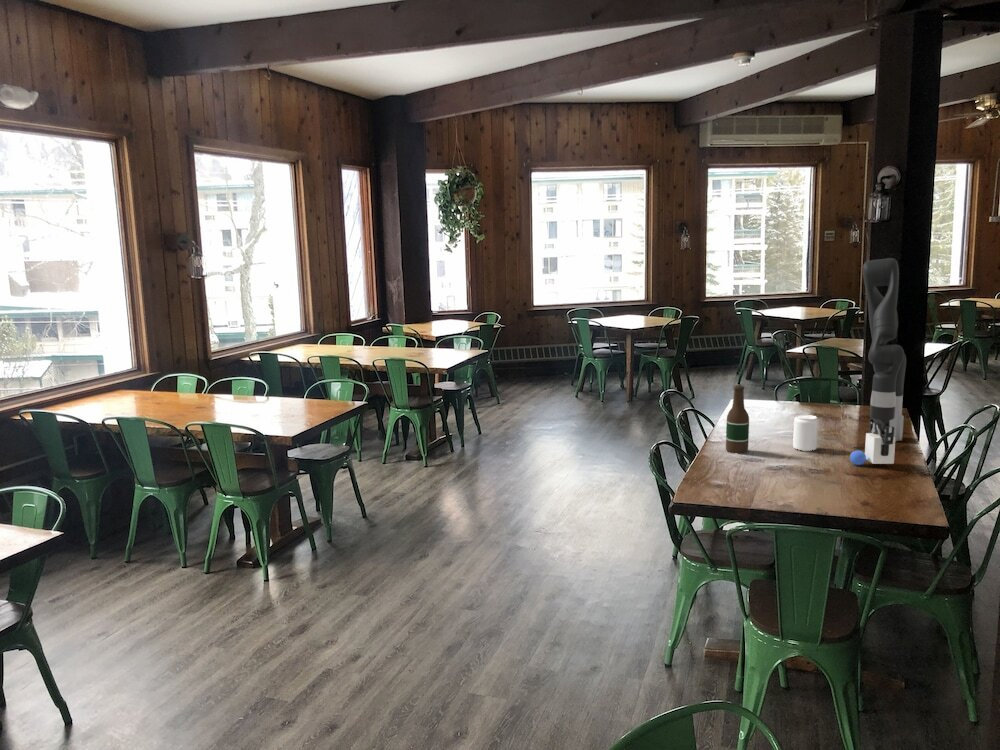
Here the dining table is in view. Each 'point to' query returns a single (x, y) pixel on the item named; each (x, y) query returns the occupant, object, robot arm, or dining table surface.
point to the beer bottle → (737, 424)
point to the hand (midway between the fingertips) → (879, 452)
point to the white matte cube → (878, 450)
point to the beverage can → (805, 432)
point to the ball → (858, 457)
